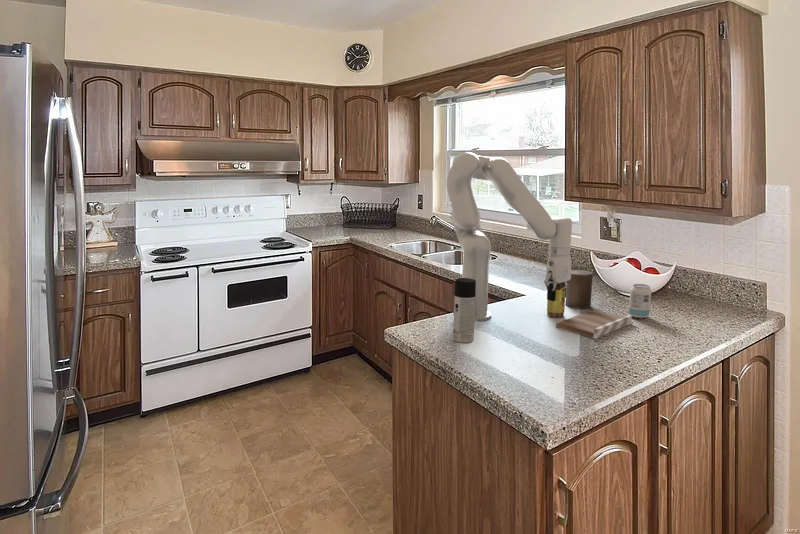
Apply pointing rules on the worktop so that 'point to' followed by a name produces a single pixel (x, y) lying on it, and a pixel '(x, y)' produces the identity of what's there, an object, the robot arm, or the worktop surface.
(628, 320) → the shelf board
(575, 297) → the pillar candle
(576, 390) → the worktop surface
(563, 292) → the sauce bottle
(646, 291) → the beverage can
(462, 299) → the spray can
